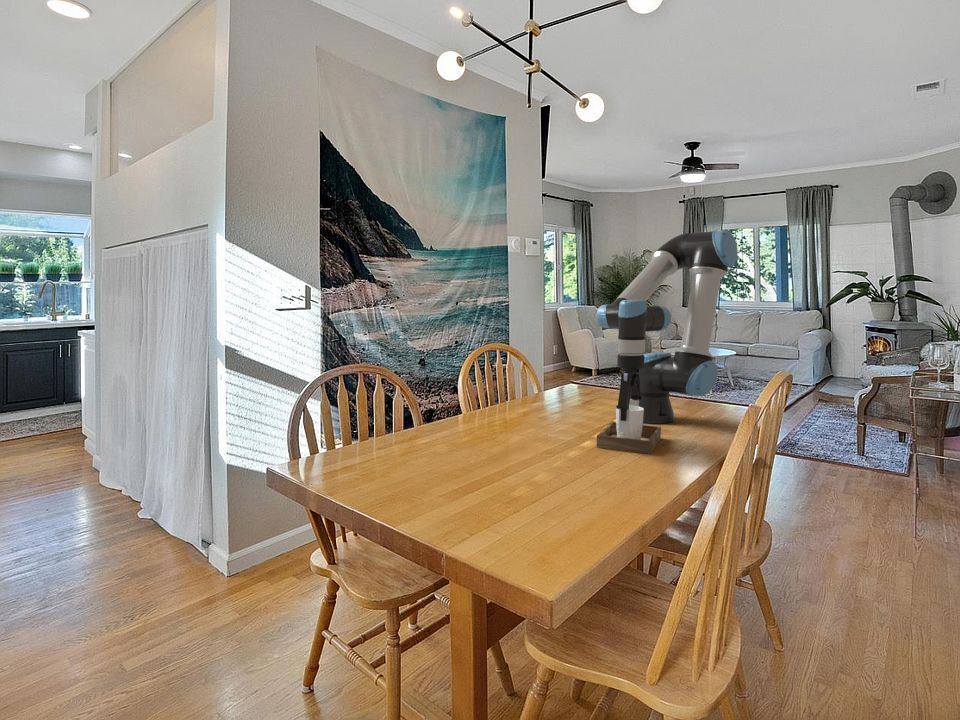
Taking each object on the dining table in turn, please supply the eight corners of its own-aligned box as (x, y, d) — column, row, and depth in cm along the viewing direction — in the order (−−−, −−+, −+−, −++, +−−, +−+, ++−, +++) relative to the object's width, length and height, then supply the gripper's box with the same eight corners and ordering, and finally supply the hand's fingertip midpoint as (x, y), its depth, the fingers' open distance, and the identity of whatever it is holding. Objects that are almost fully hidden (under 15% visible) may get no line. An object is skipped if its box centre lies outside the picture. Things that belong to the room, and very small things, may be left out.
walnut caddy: (611, 432, 178) (611, 421, 178) (660, 438, 172) (661, 426, 171) (596, 447, 162) (596, 435, 162) (650, 454, 156) (650, 441, 155)
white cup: (643, 446, 161) (644, 411, 159) (615, 444, 162) (616, 410, 161) (642, 438, 168) (643, 405, 167) (614, 437, 170) (615, 404, 169)
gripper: (627, 348, 175) (624, 416, 178) (607, 358, 153) (605, 434, 156) (652, 350, 172) (649, 418, 174) (635, 359, 149) (633, 438, 152)
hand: (628, 426), depth 165 cm, fingers open, 13 cm apart
